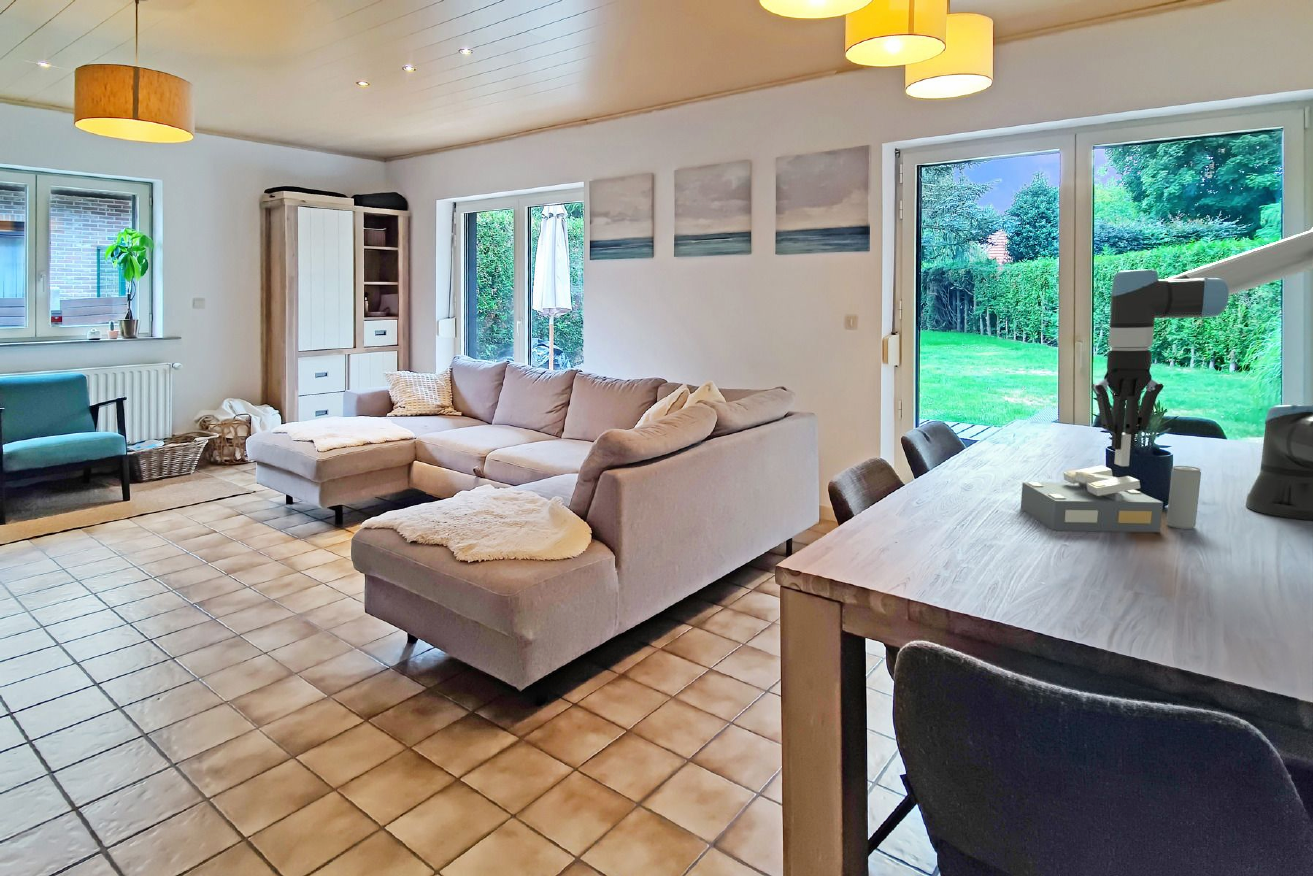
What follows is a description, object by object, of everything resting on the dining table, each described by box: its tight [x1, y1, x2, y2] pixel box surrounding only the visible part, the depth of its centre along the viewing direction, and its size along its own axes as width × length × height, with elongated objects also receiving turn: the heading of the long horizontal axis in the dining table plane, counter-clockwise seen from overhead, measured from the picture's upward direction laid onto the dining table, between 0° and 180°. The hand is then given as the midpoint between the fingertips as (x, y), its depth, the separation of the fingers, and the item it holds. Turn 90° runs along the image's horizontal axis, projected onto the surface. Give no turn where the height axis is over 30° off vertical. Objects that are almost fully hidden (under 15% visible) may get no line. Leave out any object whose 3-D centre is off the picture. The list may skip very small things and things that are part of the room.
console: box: [1020, 481, 1164, 533], centre depth 156 cm, size 20×17×7 cm
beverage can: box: [1166, 465, 1202, 530], centre depth 150 cm, size 5×5×12 cm
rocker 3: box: [1087, 475, 1141, 496], centre depth 150 cm, size 8×4×2 cm, turn 83°
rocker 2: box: [1075, 471, 1118, 484], centre depth 155 cm, size 8×4×2 cm, turn 86°
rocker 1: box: [1063, 465, 1113, 484], centre depth 161 cm, size 8×4×2 cm, turn 83°
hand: (1121, 464), depth 154 cm, fingers closed
